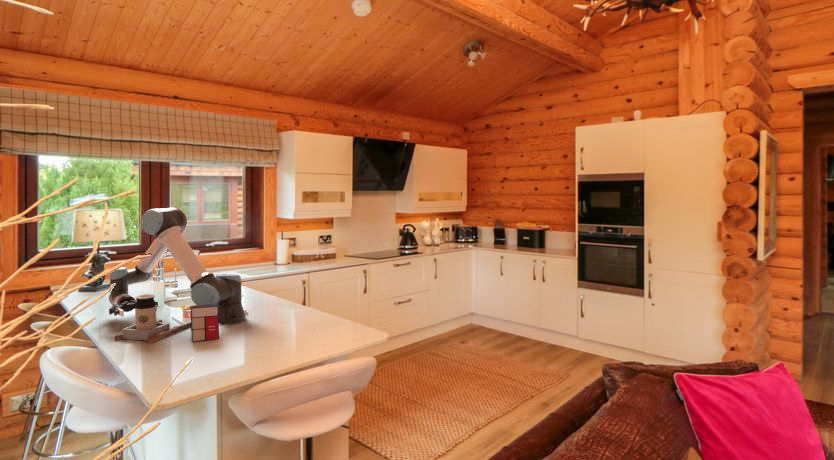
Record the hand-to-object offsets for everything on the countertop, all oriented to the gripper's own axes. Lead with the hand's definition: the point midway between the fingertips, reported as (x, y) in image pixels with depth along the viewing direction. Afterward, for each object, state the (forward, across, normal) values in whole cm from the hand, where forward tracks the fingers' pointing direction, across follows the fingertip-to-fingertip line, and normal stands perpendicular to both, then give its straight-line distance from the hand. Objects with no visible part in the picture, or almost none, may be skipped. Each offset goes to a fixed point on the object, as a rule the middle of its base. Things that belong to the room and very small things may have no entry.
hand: (139, 311), depth 222 cm
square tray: (+7, 0, -10) cm, 12 cm away
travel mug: (+7, 0, -10) cm, 13 cm away
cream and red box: (+30, -17, -10) cm, 36 cm away
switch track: (+5, -4, -10) cm, 12 cm away
